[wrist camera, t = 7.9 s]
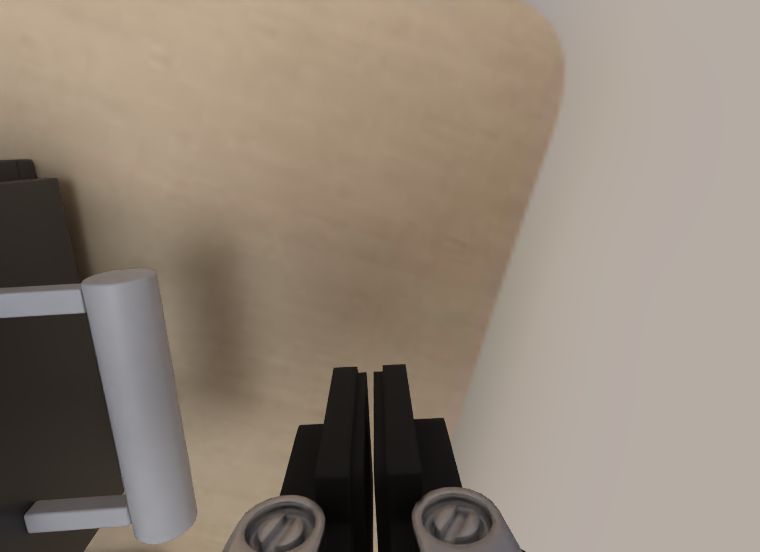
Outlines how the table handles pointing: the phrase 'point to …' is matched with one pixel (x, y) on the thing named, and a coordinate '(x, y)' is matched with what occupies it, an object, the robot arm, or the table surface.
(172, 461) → the drawer with pull handle
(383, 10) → the table surface
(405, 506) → the robot arm
